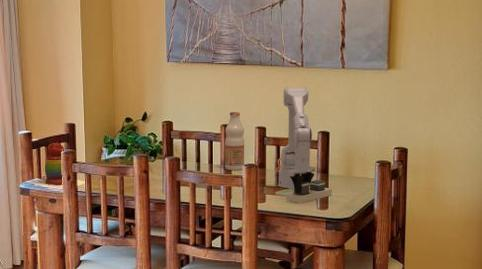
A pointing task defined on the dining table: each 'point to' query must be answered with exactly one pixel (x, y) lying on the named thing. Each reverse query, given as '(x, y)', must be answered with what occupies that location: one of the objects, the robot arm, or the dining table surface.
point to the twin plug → (317, 185)
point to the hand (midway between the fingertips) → (301, 191)
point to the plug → (303, 188)
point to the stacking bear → (54, 164)
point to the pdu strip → (309, 196)
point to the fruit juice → (234, 143)
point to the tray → (284, 192)
